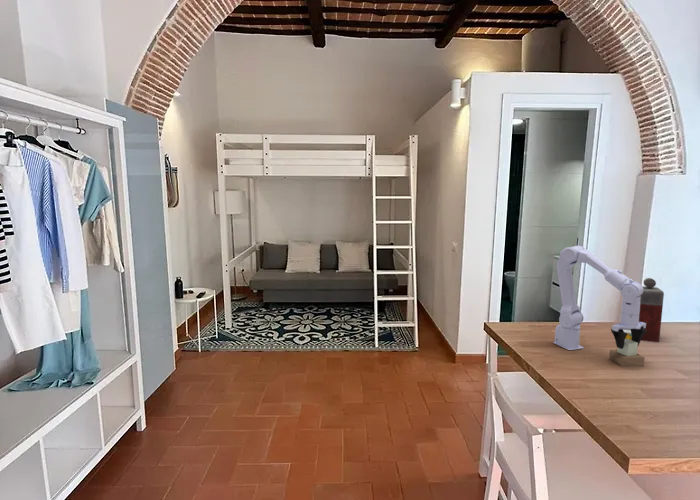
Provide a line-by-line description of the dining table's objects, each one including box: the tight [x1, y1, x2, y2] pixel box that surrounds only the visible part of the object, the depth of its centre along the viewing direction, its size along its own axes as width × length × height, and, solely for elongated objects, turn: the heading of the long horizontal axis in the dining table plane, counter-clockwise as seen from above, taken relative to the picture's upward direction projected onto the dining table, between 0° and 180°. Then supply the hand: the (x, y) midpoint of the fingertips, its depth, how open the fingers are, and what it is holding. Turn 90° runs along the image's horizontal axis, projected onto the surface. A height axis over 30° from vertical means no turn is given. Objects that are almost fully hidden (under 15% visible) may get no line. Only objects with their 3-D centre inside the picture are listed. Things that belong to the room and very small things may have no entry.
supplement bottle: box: [623, 329, 632, 340], centre depth 174 cm, size 5×5×10 cm
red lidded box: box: [638, 277, 665, 343], centre depth 183 cm, size 9×11×28 cm
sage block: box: [616, 339, 639, 356], centre depth 156 cm, size 4×4×5 cm
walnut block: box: [608, 349, 645, 368], centre depth 156 cm, size 8×8×4 cm
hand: (627, 346), depth 156 cm, fingers open, 7 cm apart
